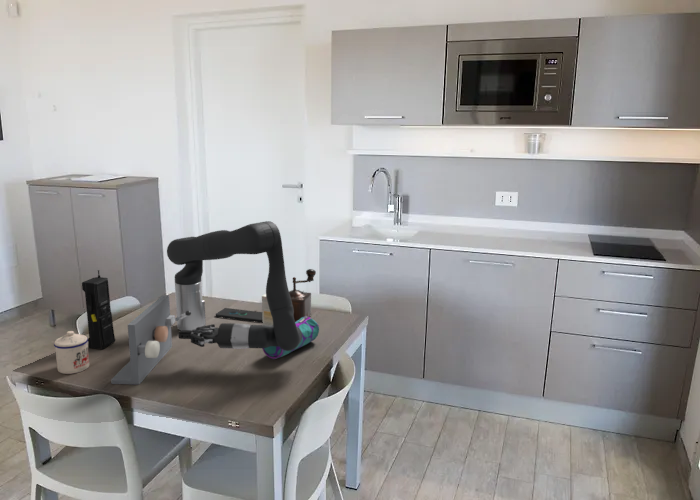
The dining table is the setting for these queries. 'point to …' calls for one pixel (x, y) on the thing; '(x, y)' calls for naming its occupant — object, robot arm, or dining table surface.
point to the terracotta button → (160, 333)
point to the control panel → (140, 335)
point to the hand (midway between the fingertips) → (179, 334)
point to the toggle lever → (183, 315)
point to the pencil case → (308, 335)
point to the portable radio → (98, 312)
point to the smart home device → (240, 314)
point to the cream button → (150, 349)
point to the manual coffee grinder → (301, 298)
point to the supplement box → (266, 312)
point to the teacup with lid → (72, 353)
